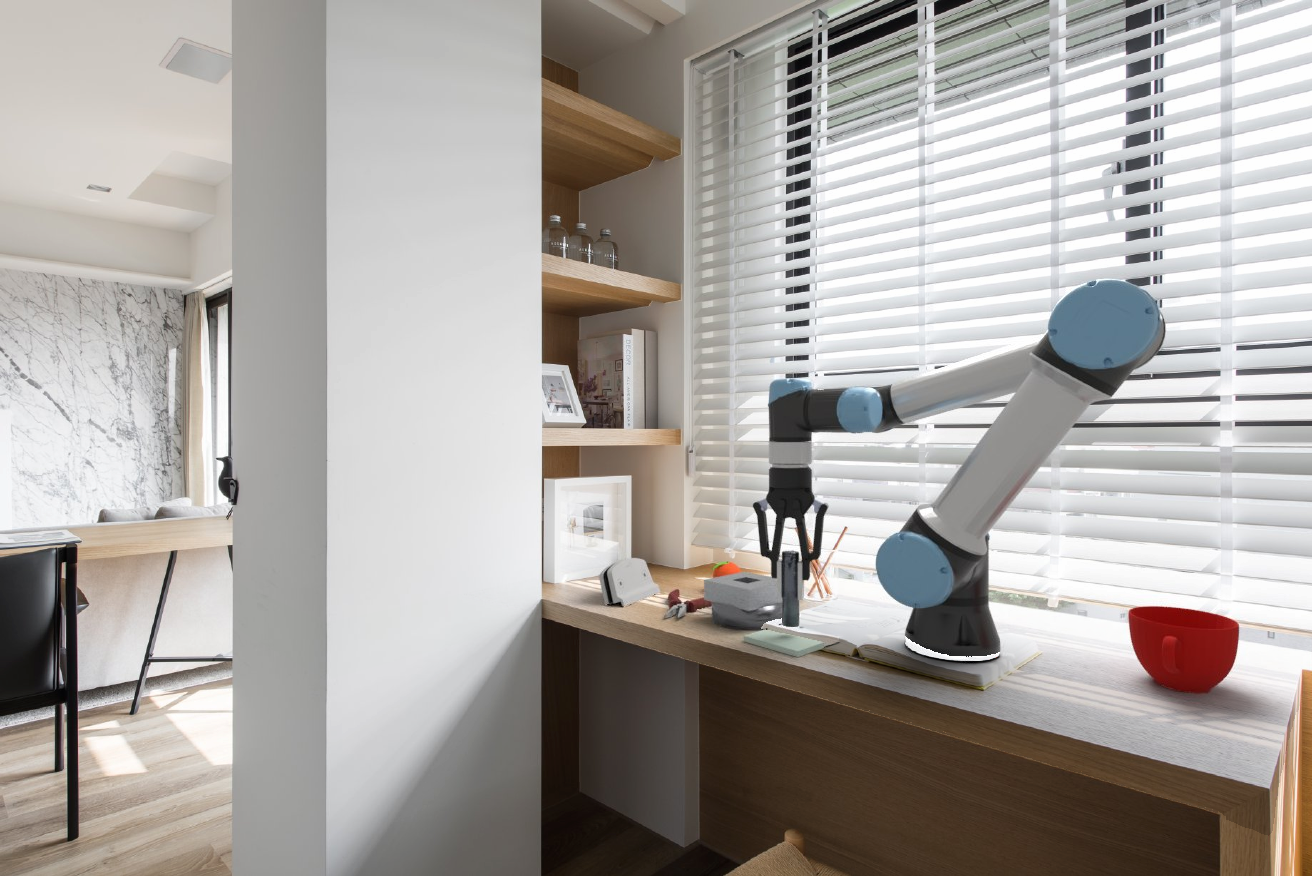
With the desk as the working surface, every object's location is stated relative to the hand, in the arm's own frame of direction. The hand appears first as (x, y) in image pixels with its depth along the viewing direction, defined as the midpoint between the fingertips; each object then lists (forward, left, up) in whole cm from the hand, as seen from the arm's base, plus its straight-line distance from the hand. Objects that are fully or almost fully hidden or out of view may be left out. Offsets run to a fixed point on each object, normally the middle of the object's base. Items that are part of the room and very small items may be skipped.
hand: (790, 597), depth 125 cm
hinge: (+46, 0, -8) cm, 47 cm away
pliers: (+32, -2, -9) cm, 33 cm away
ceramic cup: (-52, -23, -8) cm, 57 cm away
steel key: (0, 0, -5) cm, 5 cm away
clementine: (+35, -20, -8) cm, 41 cm away
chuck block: (+15, -5, -8) cm, 18 cm away
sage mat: (0, 0, -8) cm, 8 cm away
